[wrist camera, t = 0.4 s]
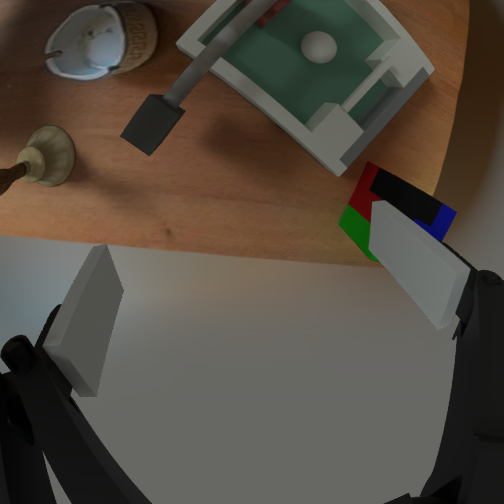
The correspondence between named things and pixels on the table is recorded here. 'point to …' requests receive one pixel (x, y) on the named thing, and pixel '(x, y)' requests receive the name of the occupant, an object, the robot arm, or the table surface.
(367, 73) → the pitch
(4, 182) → the hand bell
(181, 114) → the striker
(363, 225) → the puzzle toy
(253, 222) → the table surface
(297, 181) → the table surface
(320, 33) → the ball
